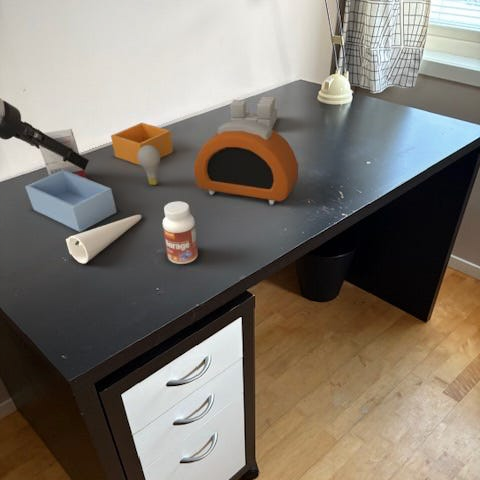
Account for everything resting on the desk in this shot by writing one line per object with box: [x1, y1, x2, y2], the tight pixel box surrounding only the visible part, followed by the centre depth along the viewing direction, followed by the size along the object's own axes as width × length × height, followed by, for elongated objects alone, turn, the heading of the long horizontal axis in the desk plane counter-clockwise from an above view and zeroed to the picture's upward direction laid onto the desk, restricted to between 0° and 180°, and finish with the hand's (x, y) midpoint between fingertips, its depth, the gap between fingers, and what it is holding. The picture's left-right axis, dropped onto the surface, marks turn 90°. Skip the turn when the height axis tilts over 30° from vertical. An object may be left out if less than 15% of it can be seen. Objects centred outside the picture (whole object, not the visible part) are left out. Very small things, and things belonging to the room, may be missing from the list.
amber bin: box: [110, 122, 174, 166], centre depth 133 cm, size 12×12×6 cm
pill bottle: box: [162, 200, 199, 265], centre depth 93 cm, size 6×6×11 cm
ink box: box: [39, 128, 87, 179], centre depth 119 cm, size 9×5×12 cm, turn 110°
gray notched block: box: [230, 96, 278, 130], centre depth 146 cm, size 12×12×8 cm
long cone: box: [65, 214, 142, 264], centre depth 100 cm, size 6×6×19 cm
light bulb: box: [137, 145, 161, 186], centre depth 117 cm, size 6×6×10 cm
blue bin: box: [24, 170, 117, 233], centre depth 110 cm, size 18×11×6 cm, turn 52°
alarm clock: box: [193, 120, 299, 205], centre depth 110 cm, size 23×9×17 cm, turn 68°
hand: (74, 160), depth 123 cm, fingers closed on ink box, 8 cm apart
